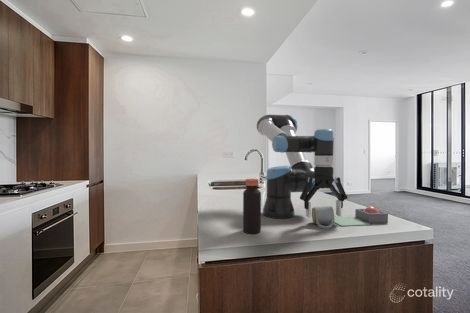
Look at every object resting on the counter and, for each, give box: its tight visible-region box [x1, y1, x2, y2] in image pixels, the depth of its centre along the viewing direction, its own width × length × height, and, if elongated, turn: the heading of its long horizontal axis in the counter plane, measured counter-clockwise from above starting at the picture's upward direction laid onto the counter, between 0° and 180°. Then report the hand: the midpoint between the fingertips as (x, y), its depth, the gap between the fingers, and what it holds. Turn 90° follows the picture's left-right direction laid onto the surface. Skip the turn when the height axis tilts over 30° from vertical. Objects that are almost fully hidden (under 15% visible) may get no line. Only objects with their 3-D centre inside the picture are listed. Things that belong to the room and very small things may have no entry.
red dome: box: [363, 205, 380, 214], centre depth 107 cm, size 6×6×5 cm
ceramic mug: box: [311, 205, 335, 230], centre depth 100 cm, size 11×8×8 cm
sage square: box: [334, 215, 371, 227], centre depth 106 cm, size 13×13×1 cm
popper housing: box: [354, 208, 389, 224], centre depth 107 cm, size 9×9×4 cm
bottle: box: [242, 178, 262, 235], centre depth 92 cm, size 7×7×20 cm
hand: (323, 216), depth 101 cm, fingers open, 13 cm apart
